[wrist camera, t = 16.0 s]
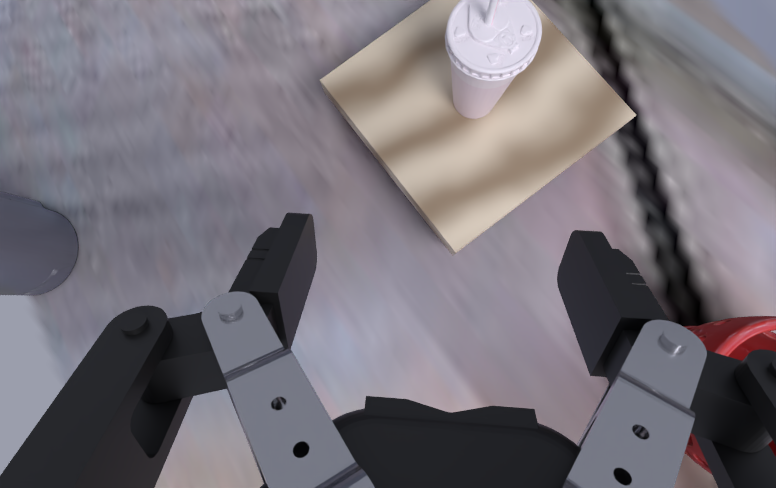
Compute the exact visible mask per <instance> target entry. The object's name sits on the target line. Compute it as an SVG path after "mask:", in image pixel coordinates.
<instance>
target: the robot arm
mask: <svg viewBox="0 0 776 488" xmlns="http://www.w3.org/2000/svg"><path fill="white" fill-rule="evenodd" d="M77 253H78V242H77V236H76V233H75V230H74V228H73V227H72V225H71V224H70V222H69V221H68V220H67V219H66V218H65V217H64V216H62V215H60V214H59V213H57V212H54V211H51V210H47V209H45V208H44V207H43V206H42V204H41V203H40V202H38V201H34V200H31V199H27V198H23V197H20V196H16V195H12V194H9V193H5V192H1V191H0V295H38V294H42V293H45V292H48V291H50V290H52V289H54V288H55V287H57V286H58V285H59V284H61V283H62V282H63V281H64V280H65V279H66V278H67V276H68V275H69V274H70V272H71V270H72V268H73V266H74V264H75V261H76V258H77ZM316 263H317V250H316V241H315V231H314V222H313V216H312V215H311V214H301V213H287V214H286V216H285V218H284V220H283V222H282V224H281V226H280V228H269V229H267V230H266V231H265V232H264V233H262V234H261V235H260V236H259V237H258V238H257V240H256V242H255V244H254V246H253V247H252V251H250V253H249V255H248V257H247V260H245V262H244V264H243V266H242V268H241V270H240V272H239V274H238V275H237V277H236V279H235V281H234V283H233V285H232V287H231V288H230V290H229V292H228V293H225V294H222V295H220V296H218V297H216V298H214V299H213V300H211V301H210V302H209V303H208V304H207V305H206V306H205V308H204V310H203V312H200V313H196V314H191V315H186V316H180V317H175V318H169V319H168V318H167V315H166V313H165V312H164V311H163V310H162V309H161V308H158V307H155V306H140V307H136V308H132V309H130V310H127V311H125V312H123V313H121V314H120V315H118V316H117V317H115V318H114V319H113V320H112V321H111V322H110V323H109V324H108V325H107V326H106V328H105V329H104V331H103V332H102V333H101V335H100V336H99V338H98V339H97V341H96V342H95V343H94V345H93V346H92V348H91V349H90V350H89V352H88V353H87V355H86V356H85V357H84V359H83V360H82V362H81V363H80V364H79V366H78V367H77V369H76V370H75V371H74V373H73V374H72V376H71V377H70V378H69V380H68V381H67V383H66V384H65V385H64V387H63V388H62V390H61V391H60V393H59V394H58V395H57V397H56V398H55V400H54V401H53V403H52V404H51V405H50V407H49V408H48V409H47V411H46V412H45V414H44V415H43V416H42V418H41V419H40V421H39V422H38V424H37V425H36V426H35V428H34V429H33V431H32V432H31V433H30V435H29V436H28V438H27V439H26V440H25V442H24V443H23V445H22V446H21V447H20V449H19V450H18V452H17V453H16V455H15V456H14V457H13V459H12V460H11V461H10V463H9V464H8V466H7V467H6V469H5V470H4V471H3V473H2V474H1V476H0V488H154V487H155V485H156V482H157V480H158V478H159V475H160V473H161V471H162V468H163V466H164V463H165V461H166V459H167V456H168V454H169V452H170V449H171V447H172V445H173V442H174V440H175V437H176V435H177V433H178V430H179V428H180V426H181V423H182V421H183V419H184V416H185V414H186V412H187V409H188V407H189V404H190V402H191V400H192V397H193V396H195V395H199V394H204V393H208V392H213V391H218V390H222V389H227V390H228V393H229V395H230V398H231V400H232V403H233V405H234V408H235V410H236V413H237V416H238V418H239V421H240V423H241V426H242V428H243V431H244V433H245V436H246V439H247V441H248V444H249V446H250V449H251V452H252V454H253V457H254V460H255V462H256V465H257V467H258V470H259V472H260V475H261V478H262V480H263V483H264V484H263V485H262V486H261V487H260V488H674V485H675V482H676V478H677V475H678V472H679V469H680V465H681V462H682V459H683V456H684V452H685V449H686V446H687V443H688V440H689V436H690V433H692V434H694V436H695V438H696V440H697V442H698V444H699V446H700V449H701V451H702V453H703V455H704V457H705V459H706V462H707V464H708V466H709V468H710V470H711V472H712V475H713V477H714V479H715V481H716V483H717V485H718V488H776V456H775V455H774V453H773V451H772V450H771V448H770V446H769V445H768V444H769V443H770V442H771V441H772V440H773V441H774V443H775V445H776V352H775V351H771V350H763V349H759V350H754V351H752V352H750V353H749V354H748V355H747V356H746V357H745V359H744V360H743V361H741V360H738V359H735V358H731V357H728V356H725V355H721V354H718V353H715V352H711V351H708V350H706V348H705V346H704V344H703V342H702V341H701V340H700V339H699V338H698V337H697V336H696V335H695V334H694V333H693V332H691V331H690V330H688V329H687V328H685V327H683V326H681V325H679V324H676V323H674V322H670V321H669V320H668V318H667V317H666V315H665V313H664V312H663V310H662V309H661V307H660V305H659V304H658V302H657V300H656V299H655V297H654V295H653V294H652V292H651V291H650V289H649V287H648V286H646V282H645V281H644V279H643V278H642V276H640V273H639V271H638V269H637V268H636V266H635V264H634V263H633V261H632V260H631V259H630V258H628V257H627V256H626V255H625V254H623V253H622V252H621V251H620V250H619V249H612V248H611V246H610V244H609V243H608V241H607V239H606V237H605V236H604V234H603V233H602V232H597V231H580V230H575V231H573V232H572V234H571V236H570V239H569V241H568V244H567V247H566V250H565V253H564V255H563V258H562V261H561V264H560V266H559V270H558V276H557V282H558V288H559V291H560V294H561V296H562V299H563V302H564V305H565V307H566V310H567V313H568V316H569V318H570V321H571V324H572V327H573V329H574V332H575V335H576V338H577V340H578V343H579V346H580V349H581V351H582V354H583V357H584V360H585V362H586V365H587V368H588V371H589V373H590V376H601V377H607V379H608V381H609V385H608V387H607V389H606V391H605V392H604V394H603V396H602V398H601V400H600V402H599V404H598V406H597V408H596V410H595V411H594V413H593V415H592V417H591V419H590V421H589V423H588V425H587V427H586V429H585V431H584V432H583V434H582V436H581V438H580V440H579V442H578V443H577V445H576V444H575V443H574V442H572V441H571V440H569V439H568V438H567V437H565V436H564V435H562V434H560V433H559V432H557V431H555V430H553V429H551V428H549V427H547V426H544V425H542V424H539V423H537V419H536V414H535V410H534V409H527V408H514V407H501V406H489V407H483V408H477V409H471V410H466V411H460V412H453V413H450V412H445V411H442V410H439V409H436V408H433V407H429V406H426V405H423V404H420V403H417V402H414V401H411V400H408V399H397V398H384V397H371V396H366V402H365V409H361V410H356V411H353V412H350V413H346V414H344V415H342V416H340V417H337V418H336V419H334V420H331V418H330V417H329V415H328V413H327V411H326V410H325V408H324V406H323V404H322V403H321V401H320V399H319V397H318V396H317V394H316V392H315V390H314V389H313V387H312V385H311V383H310V382H309V380H308V378H307V376H306V375H305V373H304V371H303V369H302V368H301V366H300V364H299V363H298V361H297V359H296V357H295V356H294V354H293V352H292V351H291V346H292V343H293V340H294V336H295V333H296V330H297V327H298V324H299V321H300V318H301V314H302V311H303V308H304V305H305V302H306V299H307V296H308V292H309V289H310V286H311V283H312V280H313V277H314V274H315V270H316Z"/></svg>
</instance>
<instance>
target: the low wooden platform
mask: <svg viewBox="0 0 776 488" xmlns="http://www.w3.org/2000/svg"><path fill="white" fill-rule="evenodd" d="M459 1H460V0H430V1H429V2H427V3H426V4H424V5H423V6H422V7H420V8H419V9H418V10H416V11H415V12H413V13H412V14H411V15H409V16H408V17H406V18H405V19H404V20H402V21H401V22H399V23H398V24H397V25H395V26H394V27H393V28H391V29H390V30H388V31H387V32H386V33H384V34H383V35H381V36H380V37H379V38H377V39H376V40H375V41H373V42H372V43H370V44H369V45H368V46H366V47H365V48H363V49H362V50H361V51H359V52H358V53H356V54H355V55H354V56H352V57H351V58H350V59H348V60H347V61H345V62H344V63H343V64H341V65H340V66H338V67H337V68H336V69H334V70H333V71H332V72H330V73H329V74H327V75H326V76H325V77H323V78H322V79H320V82H321V84H322V87H323V90H324V92H325V94H326V95H327V96H328V98H329V99H330V100H331V101H332V103H333V104H334V105H335V107H336V108H337V109H338V110H339V112H340V113H341V114H342V115H343V117H344V118H345V119H346V121H347V122H348V123H349V124H350V126H351V127H352V128H353V129H354V131H355V132H356V133H357V135H358V136H359V137H360V138H361V140H362V141H363V142H364V143H365V145H366V146H367V147H368V149H369V150H370V151H371V152H372V154H373V155H374V156H375V157H376V159H377V160H378V161H379V163H380V164H381V165H382V166H383V168H384V169H385V170H386V171H387V173H388V174H389V175H390V177H391V178H392V179H393V180H394V182H395V183H396V184H397V186H398V187H399V188H400V189H401V191H402V192H403V193H404V194H405V196H406V197H407V198H408V200H409V201H410V202H411V203H412V205H413V206H414V207H415V208H416V210H417V211H418V212H419V214H420V215H421V216H422V217H423V219H424V220H425V221H426V222H427V224H428V225H429V226H430V228H431V229H432V230H433V231H434V233H435V234H436V235H437V236H438V238H439V239H440V240H441V242H442V243H443V244H444V245H445V247H446V248H447V249H448V250H449V252H450V253H451V254H452V256H453V255H454V254H456V253H457V252H458V251H460V250H461V249H462V248H464V247H465V246H466V245H467V244H469V243H470V242H471V241H473V240H474V239H475V238H477V237H478V236H479V235H481V234H482V233H483V232H485V231H486V230H487V229H489V228H490V227H491V226H492V225H494V224H495V223H496V222H498V221H499V220H500V219H502V218H503V217H504V216H506V215H507V214H508V213H510V212H511V211H512V210H513V209H515V208H516V207H517V206H519V205H520V204H521V203H523V202H524V201H525V200H527V199H528V198H529V197H531V196H532V195H533V194H534V193H536V192H537V191H538V190H540V189H541V188H542V187H544V186H545V185H546V184H548V183H549V182H550V181H552V180H553V179H554V178H555V177H557V176H558V175H559V174H561V173H562V172H563V171H565V170H566V169H567V168H569V167H570V166H571V165H573V164H574V163H575V162H577V161H578V160H579V159H580V158H582V157H583V156H584V155H586V154H587V153H588V152H590V151H591V150H592V149H594V148H595V147H596V146H598V145H599V144H600V143H601V142H603V141H604V140H605V139H607V138H608V137H609V136H611V135H612V134H613V133H615V132H616V131H617V130H619V129H620V128H621V127H622V126H624V125H625V124H626V123H627V122H629V121H630V120H631V119H632V118H634V117H635V116H636V114H635V113H634V112H633V111H632V110H631V109H630V108H629V107H628V105H627V104H626V103H625V102H624V101H623V100H622V99H621V98H620V97H619V96H618V94H617V93H616V92H615V91H614V90H613V89H612V88H611V87H610V86H609V85H608V83H607V82H606V81H605V80H604V79H603V78H602V77H601V76H600V75H599V74H598V72H597V71H596V70H595V69H594V68H593V67H592V66H591V65H590V64H589V63H588V62H587V60H586V59H585V58H584V57H583V56H582V55H581V54H580V53H579V52H578V51H577V49H576V48H575V47H574V46H573V45H572V44H571V43H570V42H569V41H568V40H567V38H566V37H565V36H564V35H563V34H562V33H561V32H560V31H559V30H558V29H557V28H556V26H555V25H554V24H553V23H552V22H551V21H550V20H549V19H548V18H547V17H546V15H545V14H544V13H543V12H542V11H541V10H540V9H539V8H538V7H537V6H536V4H535V3H534V2H533V1H532V0H529V1H530V2H531V3H532V4H533V6H534V7H535V9H536V10H537V12H538V14H539V17H540V20H541V24H542V36H541V41H540V44H539V46H538V50H537V52H536V55H535V57H534V59H533V61H532V62H531V63H530V64H529V65H528V66H527V67H526V69H525V70H523V71H522V72H520V73H519V74H517V75H516V76H515V78H514V79H513V80H512V82H511V83H510V85H509V86H508V87H507V89H506V90H505V92H504V93H503V94H502V96H501V97H500V99H499V100H498V101H497V103H496V104H495V106H494V107H493V108H492V110H491V111H490V112H489V113H488V114H487V115H486V116H484V117H481V118H478V119H470V118H466V117H464V116H462V115H461V114H460V113H458V111H457V110H456V108H455V106H454V103H453V91H452V75H451V60H450V57H449V55H448V52H447V50H446V44H445V33H446V28H447V23H448V19H449V16H450V14H451V12H452V10H453V9H454V7H455V6H456V5H457V3H458V2H459Z"/></svg>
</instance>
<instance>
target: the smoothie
mask: <svg viewBox="0 0 776 488" xmlns="http://www.w3.org/2000/svg"><path fill="white" fill-rule="evenodd" d="M541 36H542V24H541V20H540V17H539V14H538V12H537V10H536V9H535V7H534V6H533V4H532V3H531V2H530V1H529V0H460V1H459V2H458V3H457V5H456V6H455V7H454V9H453V10H452V12H451V14H450V16H449V19H448V23H447V28H446V33H445V44H446V50H447V52H448V55H449V57H450V60H451V75H452V91H453V103H454V106H455V108H456V110H457V111H458V113H460V114H461V115H462V116H464V117H466V118H470V119H478V118H481V117H484V116H486V115H487V114H488V113H489V112H490V111H491V110H492V108H493V107H494V106H495V104H496V103H497V101H498V100H499V99H500V97H501V96H502V94H503V93H504V92H505V90H506V89H507V87H508V86H509V85H510V83H511V82H512V80H513V79H514V78H515V76H516V75H517V74H519V73H520V72H522V71H523V70H525V69H526V67H527V66H528V65H529V64H530V63H531V62H532V61H533V59H534V57H535V55H536V52H537V50H538V46H539V44H540V41H541Z"/></svg>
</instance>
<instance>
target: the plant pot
mask: <svg viewBox="0 0 776 488" xmlns="http://www.w3.org/2000/svg"><path fill="white" fill-rule="evenodd" d="M683 327H685V328H687V329H688V330H690V331H691V332H693V333H694V334H695V335H696V336H697V337H698V338H699V339H700V340H701V341H702V342H703V344H704V346H705V348H706V350H708V351H711V352H715V353H718V354H721V355H725V356H728V357H731V358H735V359H738V360H741V361H743V360H744V359H745V357H746V356H747V355H748V354H749V353H750V352H752V351H754V350H759V349H763V350H771V351H775V352H776V334H775V333H773V332H771V331H773V330H776V316H755V317H738V318H730V319H725V320H721V321H714V322H709V323H705V324H702V325H699V326H683ZM768 445H769V446H770V448H771V450H772V451H773V453H774V455H775V456H776V445H775V443H774V441H773V440H772V441H771V442H770V443H769V444H768ZM684 453H685V454H687V455H688V456H689V457H690V458H691V459H693V460H694V461H695V462H696V463H697V464H699V465H700V466H701V467H702V468H704V469H705V470H707V471H708V472H709V473H711V474H712V472H711V470H710V468H709V466H708V464H707V462H706V459H705V457H704V455H703V453H702V451H701V449H700V446H699V444H698V442H697V440H696V438H695V436H694V434H692V433H690V436H689V440H688V443H687V446H686V449H685V452H684Z"/></svg>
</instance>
